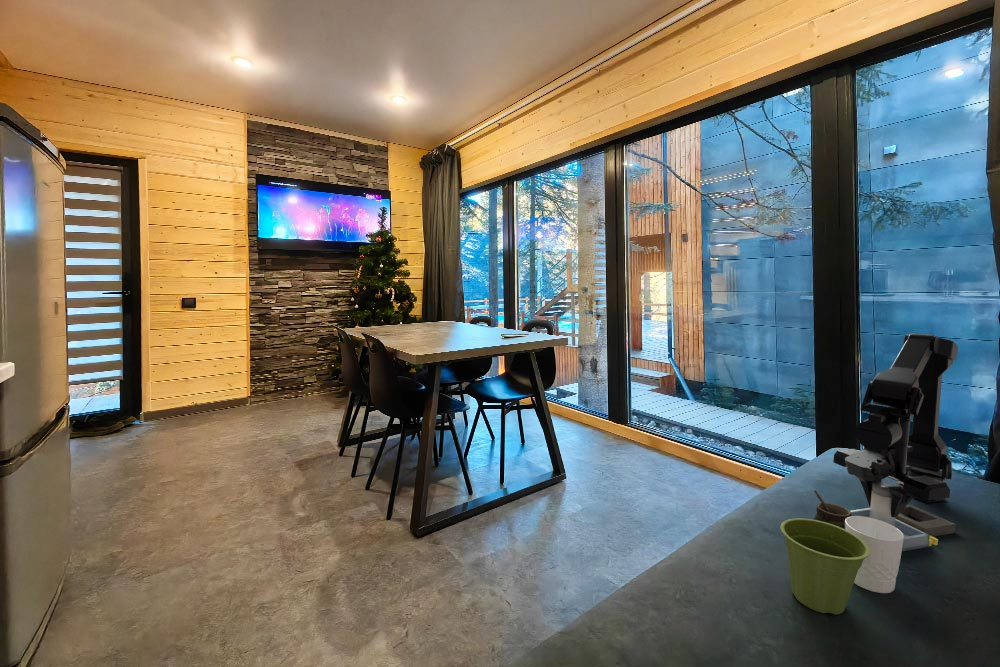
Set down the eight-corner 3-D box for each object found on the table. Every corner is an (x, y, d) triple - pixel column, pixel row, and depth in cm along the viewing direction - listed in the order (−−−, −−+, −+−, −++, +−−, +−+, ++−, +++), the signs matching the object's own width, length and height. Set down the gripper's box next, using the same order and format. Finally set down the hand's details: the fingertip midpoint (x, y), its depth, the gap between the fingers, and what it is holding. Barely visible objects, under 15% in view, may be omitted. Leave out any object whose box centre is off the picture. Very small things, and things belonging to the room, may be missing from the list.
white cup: (849, 589, 76) (854, 534, 75) (834, 562, 83) (838, 512, 82) (907, 601, 73) (913, 544, 72) (887, 572, 80) (892, 520, 79)
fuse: (863, 523, 94) (867, 483, 93) (879, 521, 94) (882, 481, 93) (883, 533, 90) (887, 491, 89) (899, 531, 90) (903, 489, 90)
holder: (874, 513, 101) (875, 505, 100) (902, 509, 102) (903, 501, 102) (924, 537, 91) (925, 528, 91) (954, 532, 92) (955, 523, 92)
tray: (837, 523, 97) (837, 512, 96) (870, 518, 99) (871, 507, 98) (891, 553, 86) (892, 541, 86) (928, 546, 88) (929, 535, 87)
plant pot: (871, 639, 65) (877, 568, 64) (776, 608, 72) (781, 543, 70) (857, 591, 75) (863, 529, 74) (776, 568, 82) (780, 511, 80)
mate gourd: (842, 562, 83) (845, 511, 82) (800, 542, 90) (802, 495, 89) (862, 550, 87) (865, 502, 86) (819, 532, 93) (822, 487, 92)
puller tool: (881, 522, 97) (882, 517, 96) (889, 521, 97) (890, 516, 97) (929, 546, 88) (929, 540, 88) (937, 544, 88) (938, 539, 88)
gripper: (815, 427, 97) (810, 495, 99) (908, 460, 79) (901, 542, 81) (856, 424, 100) (850, 489, 101) (956, 454, 81) (947, 534, 83)
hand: (882, 511), depth 92 cm, fingers closed on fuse, 4 cm apart
